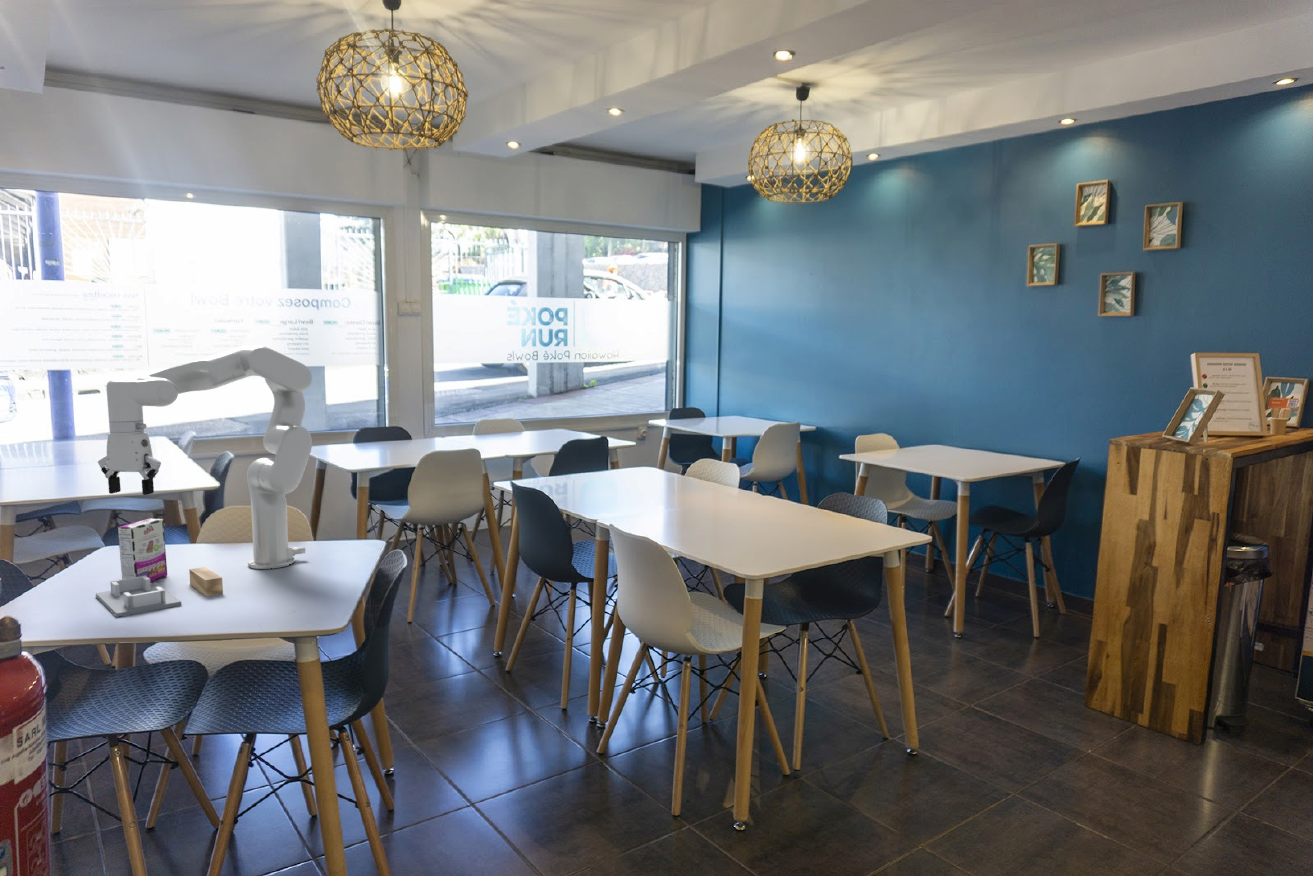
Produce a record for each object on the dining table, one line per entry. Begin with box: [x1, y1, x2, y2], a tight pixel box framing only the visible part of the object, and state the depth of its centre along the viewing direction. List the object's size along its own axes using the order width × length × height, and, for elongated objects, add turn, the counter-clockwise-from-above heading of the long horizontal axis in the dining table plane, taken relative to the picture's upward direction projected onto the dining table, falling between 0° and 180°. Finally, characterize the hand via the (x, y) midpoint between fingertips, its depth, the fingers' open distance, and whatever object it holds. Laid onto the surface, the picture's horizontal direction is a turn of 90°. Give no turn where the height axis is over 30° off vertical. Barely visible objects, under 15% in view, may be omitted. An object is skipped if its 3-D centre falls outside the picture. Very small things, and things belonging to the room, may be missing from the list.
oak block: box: [189, 566, 224, 597], centre depth 228 cm, size 4×14×4 cm, turn 44°
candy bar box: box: [117, 518, 168, 583], centre depth 234 cm, size 11×5×16 cm, turn 168°
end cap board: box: [95, 576, 182, 618], centre depth 217 cm, size 14×22×4 cm, turn 44°
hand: (131, 493), depth 222 cm, fingers open, 9 cm apart
